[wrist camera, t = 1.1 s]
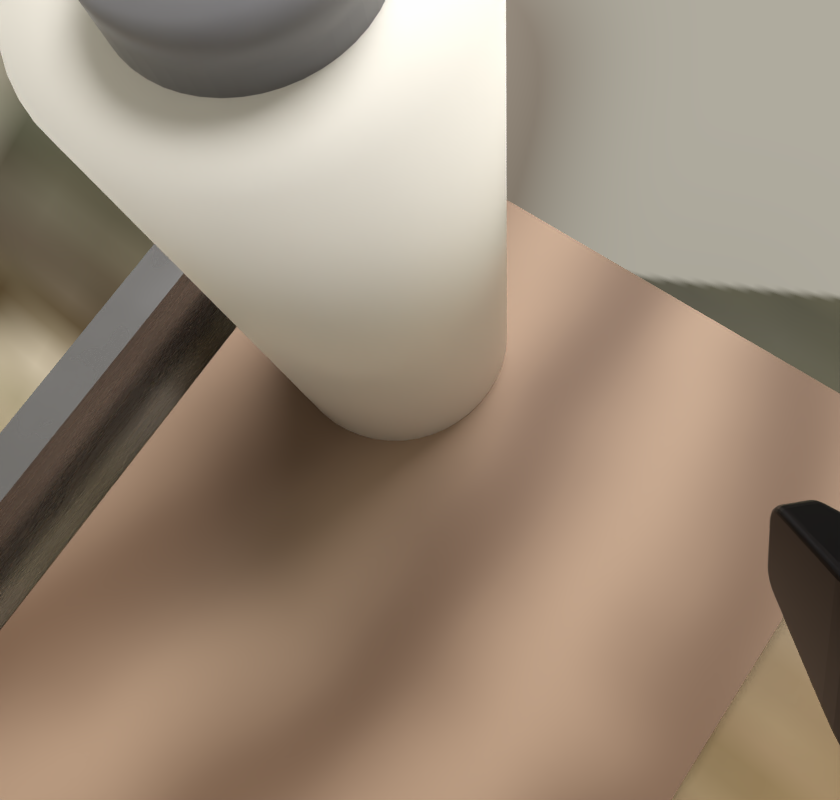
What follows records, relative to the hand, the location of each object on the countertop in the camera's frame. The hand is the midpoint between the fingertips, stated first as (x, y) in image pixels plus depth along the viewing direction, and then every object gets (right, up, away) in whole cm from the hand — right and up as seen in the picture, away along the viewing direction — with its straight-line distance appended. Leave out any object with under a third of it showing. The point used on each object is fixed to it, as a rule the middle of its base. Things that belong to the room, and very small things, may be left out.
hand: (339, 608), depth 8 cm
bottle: (0, +4, +13) cm, 14 cm away
